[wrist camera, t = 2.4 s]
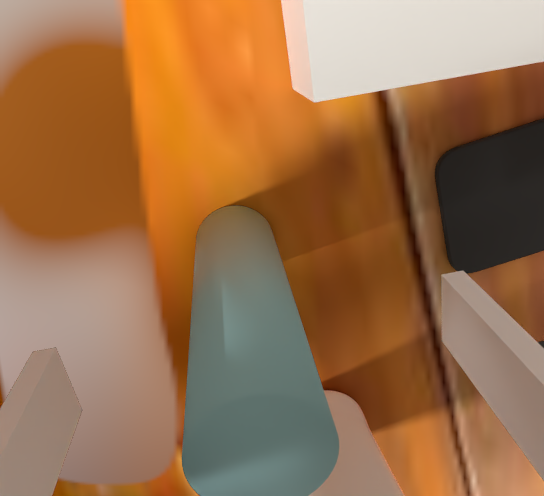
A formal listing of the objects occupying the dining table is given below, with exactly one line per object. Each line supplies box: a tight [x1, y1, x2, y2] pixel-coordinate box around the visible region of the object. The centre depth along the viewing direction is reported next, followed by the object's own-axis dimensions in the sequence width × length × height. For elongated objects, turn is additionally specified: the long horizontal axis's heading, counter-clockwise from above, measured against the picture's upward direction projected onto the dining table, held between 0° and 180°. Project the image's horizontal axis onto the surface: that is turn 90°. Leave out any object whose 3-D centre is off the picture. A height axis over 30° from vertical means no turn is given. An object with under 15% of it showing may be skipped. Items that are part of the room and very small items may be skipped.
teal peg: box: [182, 205, 339, 496], centre depth 19 cm, size 4×4×14 cm
